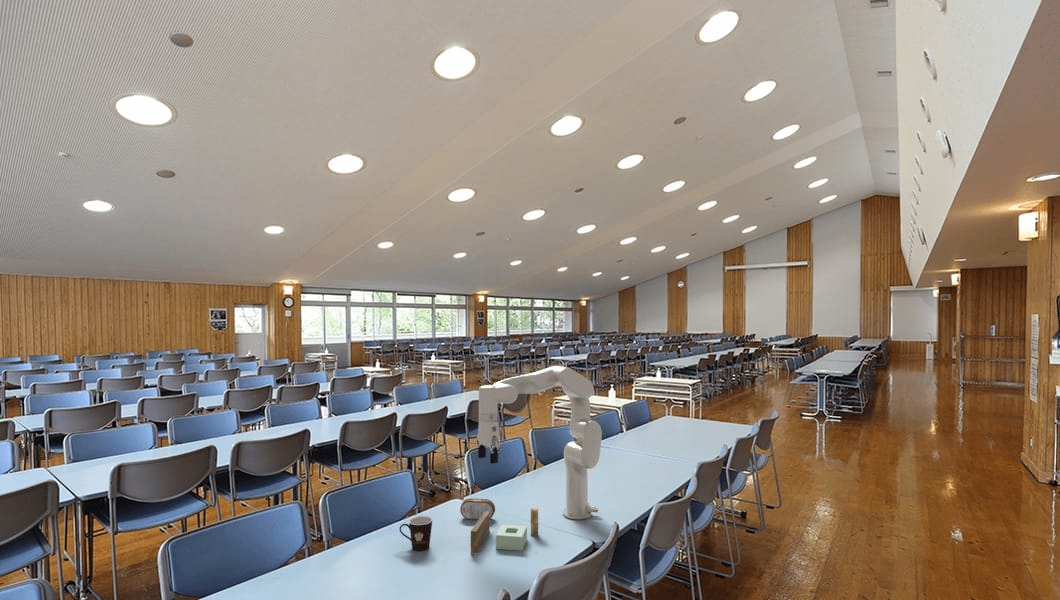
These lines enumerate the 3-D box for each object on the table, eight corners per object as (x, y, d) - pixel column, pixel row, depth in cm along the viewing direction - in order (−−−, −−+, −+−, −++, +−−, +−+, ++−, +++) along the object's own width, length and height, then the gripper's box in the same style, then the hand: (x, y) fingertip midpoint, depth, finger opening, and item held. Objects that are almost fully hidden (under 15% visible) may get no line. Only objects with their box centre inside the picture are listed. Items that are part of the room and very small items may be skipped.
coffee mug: (436, 544, 194) (437, 518, 194) (423, 554, 186) (423, 526, 186) (412, 539, 198) (412, 513, 199) (397, 548, 191) (398, 521, 191)
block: (526, 539, 198) (526, 526, 198) (522, 550, 188) (522, 536, 188) (501, 537, 200) (501, 524, 200) (495, 548, 190) (495, 535, 190)
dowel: (538, 533, 204) (538, 508, 204) (537, 536, 201) (537, 510, 201) (531, 532, 204) (531, 507, 205) (530, 536, 201) (530, 510, 202)
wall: (489, 531, 206) (489, 511, 206) (475, 553, 186) (475, 531, 186) (484, 531, 206) (484, 511, 206) (470, 553, 186) (470, 531, 187)
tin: (495, 518, 220) (495, 498, 220) (494, 521, 217) (494, 501, 217) (461, 517, 221) (461, 497, 222) (459, 520, 218) (459, 500, 219)
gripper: (507, 419, 197) (507, 463, 196) (485, 412, 212) (485, 454, 211) (490, 421, 193) (490, 466, 192) (469, 414, 207) (469, 457, 207)
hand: (487, 460), depth 202 cm, fingers open, 9 cm apart
